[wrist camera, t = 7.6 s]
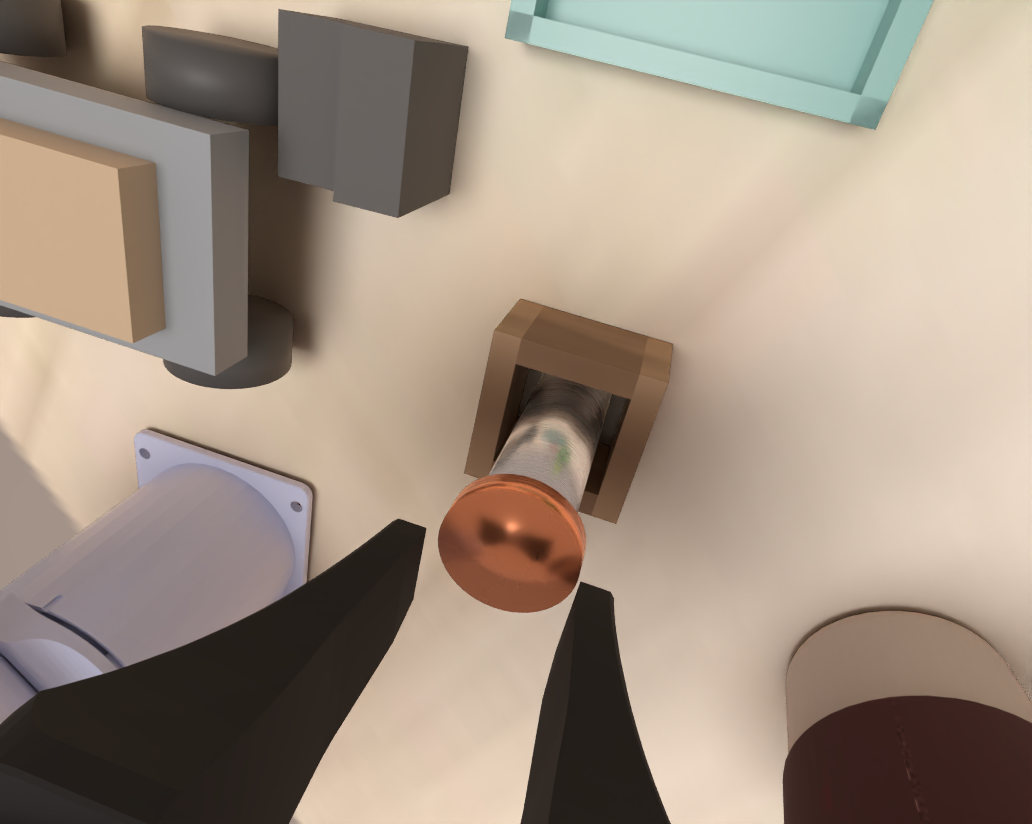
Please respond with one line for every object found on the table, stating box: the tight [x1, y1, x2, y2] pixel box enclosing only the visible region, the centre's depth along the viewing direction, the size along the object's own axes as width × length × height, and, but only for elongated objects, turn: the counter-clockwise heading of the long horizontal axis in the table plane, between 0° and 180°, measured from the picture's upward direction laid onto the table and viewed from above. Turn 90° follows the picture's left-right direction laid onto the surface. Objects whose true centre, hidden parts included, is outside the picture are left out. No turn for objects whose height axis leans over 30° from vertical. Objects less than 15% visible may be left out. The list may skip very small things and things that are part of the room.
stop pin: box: [438, 373, 611, 613], centre depth 18 cm, size 3×3×9 cm
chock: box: [278, 9, 468, 218], centre depth 18 cm, size 4×4×4 cm
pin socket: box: [464, 299, 673, 524], centre depth 21 cm, size 5×5×3 cm
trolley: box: [0, 0, 293, 389], centre depth 19 cm, size 12×10×7 cm
